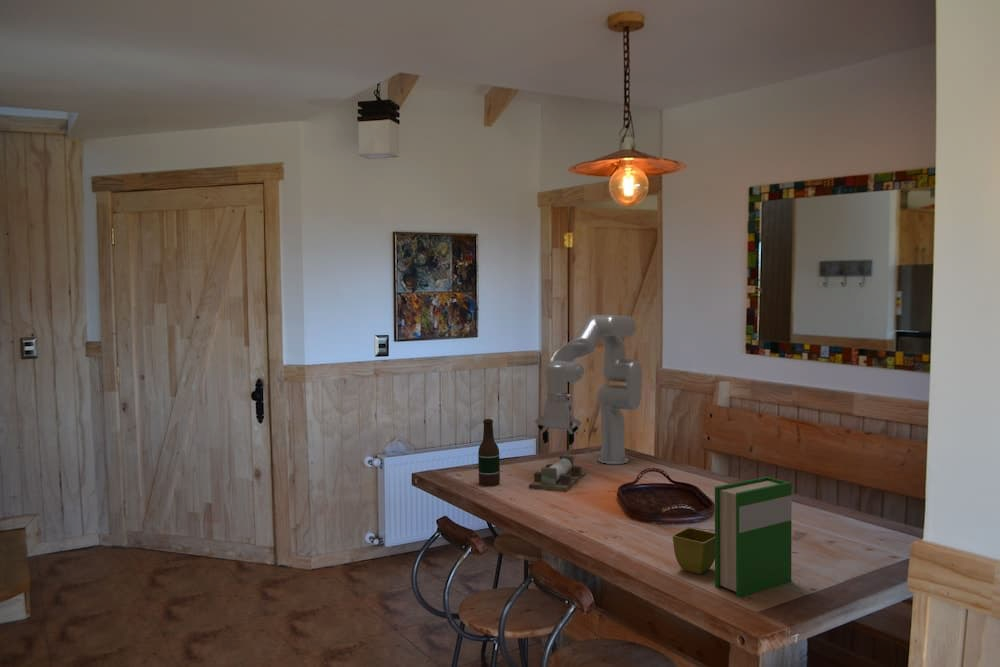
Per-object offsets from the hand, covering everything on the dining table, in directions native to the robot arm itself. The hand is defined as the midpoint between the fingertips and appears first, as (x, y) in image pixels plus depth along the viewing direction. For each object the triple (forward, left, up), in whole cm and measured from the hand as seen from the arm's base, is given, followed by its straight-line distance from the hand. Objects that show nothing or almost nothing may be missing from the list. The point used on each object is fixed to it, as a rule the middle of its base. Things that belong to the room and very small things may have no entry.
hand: (558, 443), depth 280 cm
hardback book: (+78, +74, -15) cm, 109 cm away
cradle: (0, 0, -14) cm, 14 cm away
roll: (0, 0, -13) cm, 13 cm away
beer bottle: (+11, -23, -15) cm, 30 cm away
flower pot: (+73, +60, -15) cm, 96 cm away
